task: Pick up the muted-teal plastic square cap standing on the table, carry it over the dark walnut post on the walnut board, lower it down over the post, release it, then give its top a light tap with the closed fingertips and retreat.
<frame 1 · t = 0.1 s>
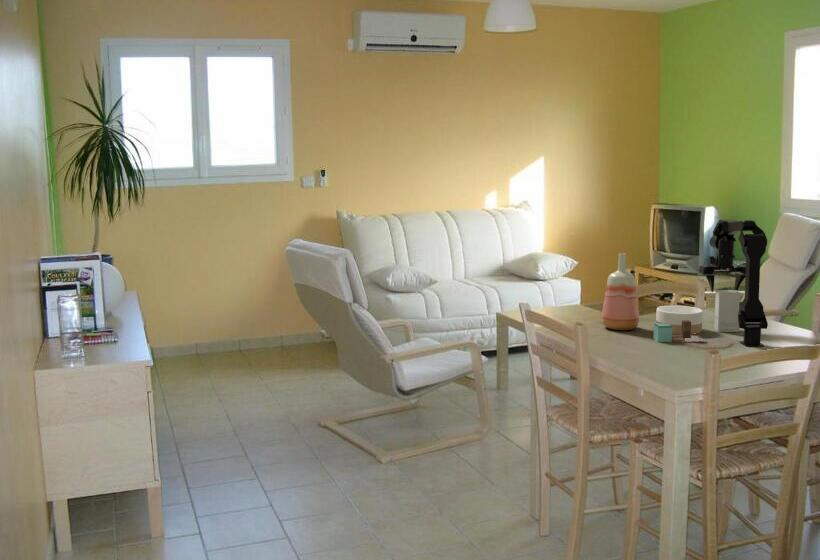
hand: (723, 291, 345), 15 cm above the table, fingers open, 9 cm apart
post block: (685, 339, 327), on the table
vase: (619, 328, 348), on the table
skincare box: (726, 331, 343), on the table
cap: (662, 340, 326), on the table
bowl: (678, 330, 344), on the table
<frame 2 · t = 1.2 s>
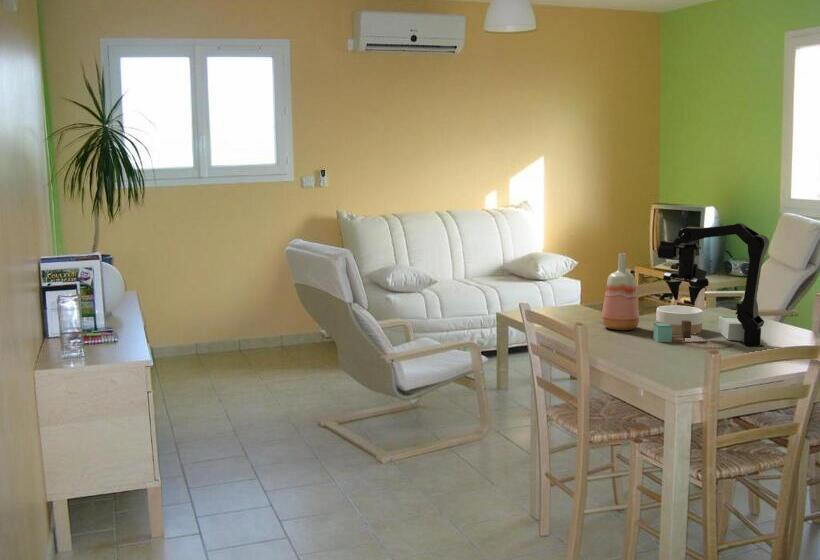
hand: (684, 302, 331), 13 cm above the table, fingers open, 9 cm apart
skincare box: (728, 324, 340), point 3 cm above the table
everything else where it was.
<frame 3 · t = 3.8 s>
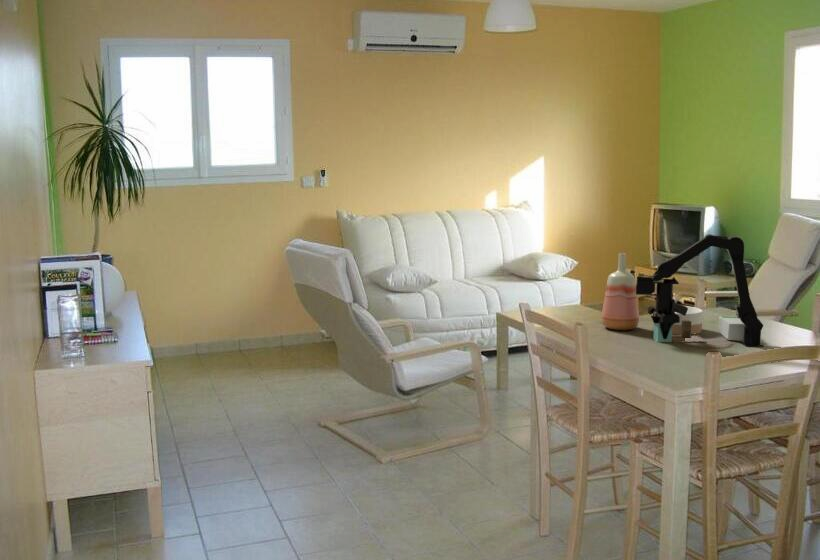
hand: (662, 337, 326), 1 cm above the table, fingers closed on cap, 5 cm apart
cap: (662, 340, 326), on the table, touching gripper
everything else where it was.
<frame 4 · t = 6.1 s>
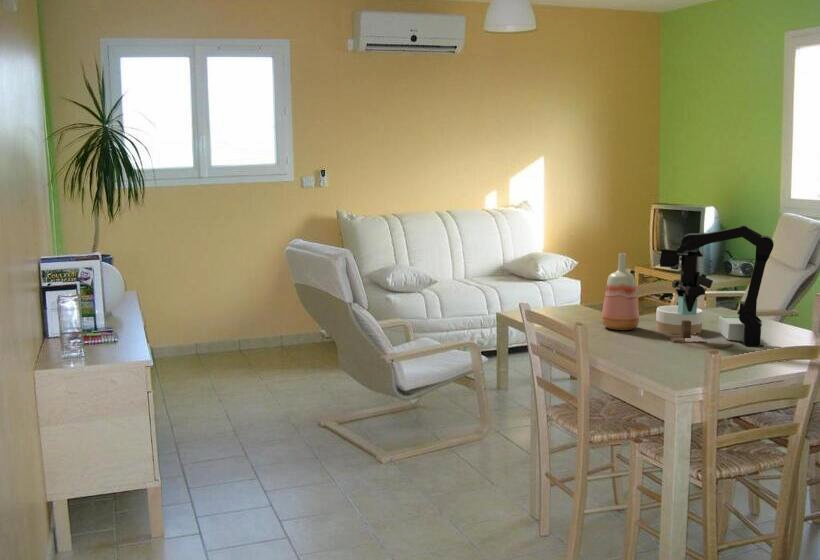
hand: (687, 310, 326), 11 cm above the table, fingers closed on cap, 5 cm apart
cap: (687, 313, 326), point 10 cm above the table, touching gripper
everything else where it was.
when the fingers open (3 cm above the table, at t = 8.6 s): cap stays where it is, resting on post block.
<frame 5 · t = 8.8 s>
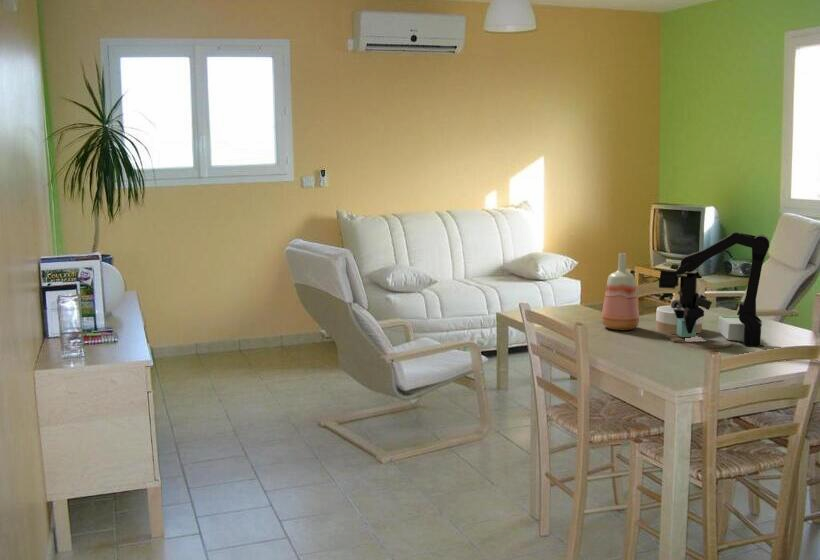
hand: (686, 331, 327), 3 cm above the table, fingers open, 7 cm apart
cap: (685, 335, 327), point 2 cm above the table, touching post block
everything else where it was.
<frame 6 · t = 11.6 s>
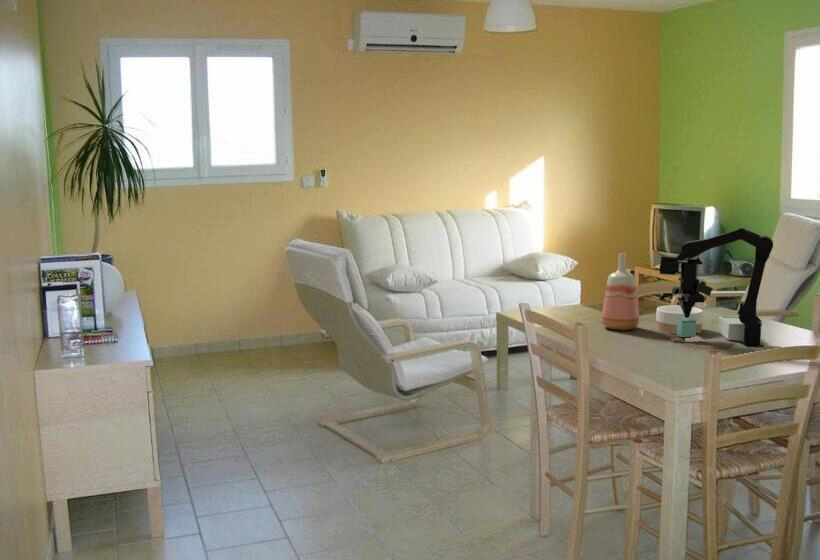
hand: (686, 317, 326), 8 cm above the table, fingers closed
nothing on the table moved.
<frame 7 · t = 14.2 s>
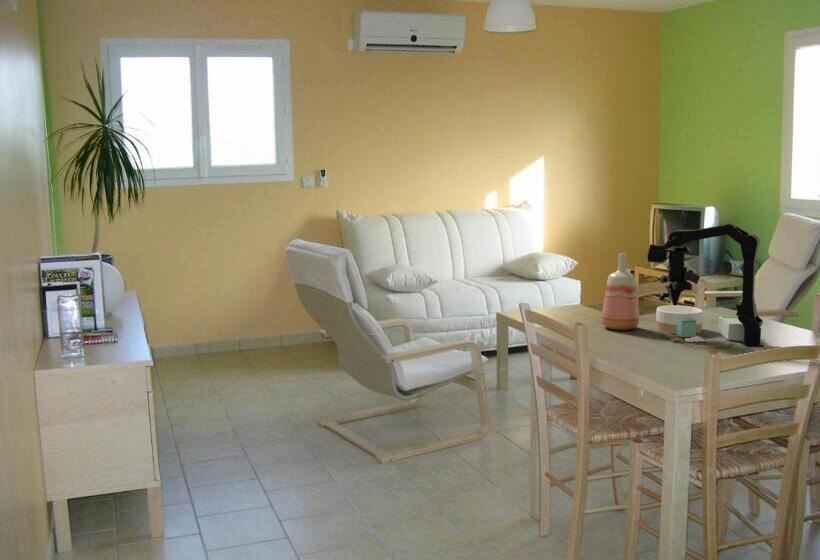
hand: (674, 305, 330), 12 cm above the table, fingers closed
nothing on the table moved.
at the end: cap 0.0 cm from the post block (horizontally); cap point 1.6 cm above the table; the gripper is holding nothing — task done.
